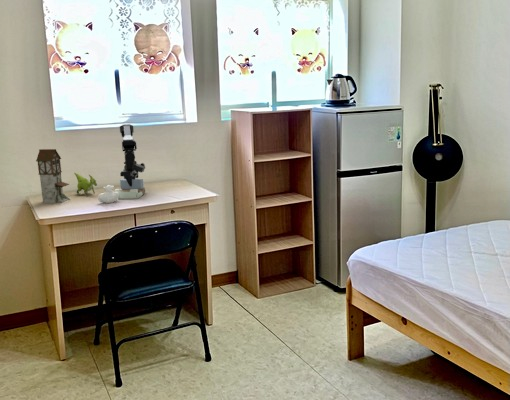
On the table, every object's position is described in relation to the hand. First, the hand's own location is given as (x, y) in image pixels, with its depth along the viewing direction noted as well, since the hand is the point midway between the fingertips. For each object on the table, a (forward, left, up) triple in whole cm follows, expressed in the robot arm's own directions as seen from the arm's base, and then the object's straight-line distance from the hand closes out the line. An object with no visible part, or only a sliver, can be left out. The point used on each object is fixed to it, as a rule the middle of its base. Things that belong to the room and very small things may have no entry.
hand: (131, 185), depth 333 cm
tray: (+11, 0, -5) cm, 12 cm away
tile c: (+9, +5, -2) cm, 10 cm away
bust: (+25, -4, -5) cm, 26 cm away
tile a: (+8, -5, -2) cm, 10 cm away
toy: (+1, -29, -5) cm, 29 cm away
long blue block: (0, 0, -2) cm, 2 cm away
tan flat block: (+2, 0, -5) cm, 5 cm away
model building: (+21, -38, -5) cm, 44 cm away
